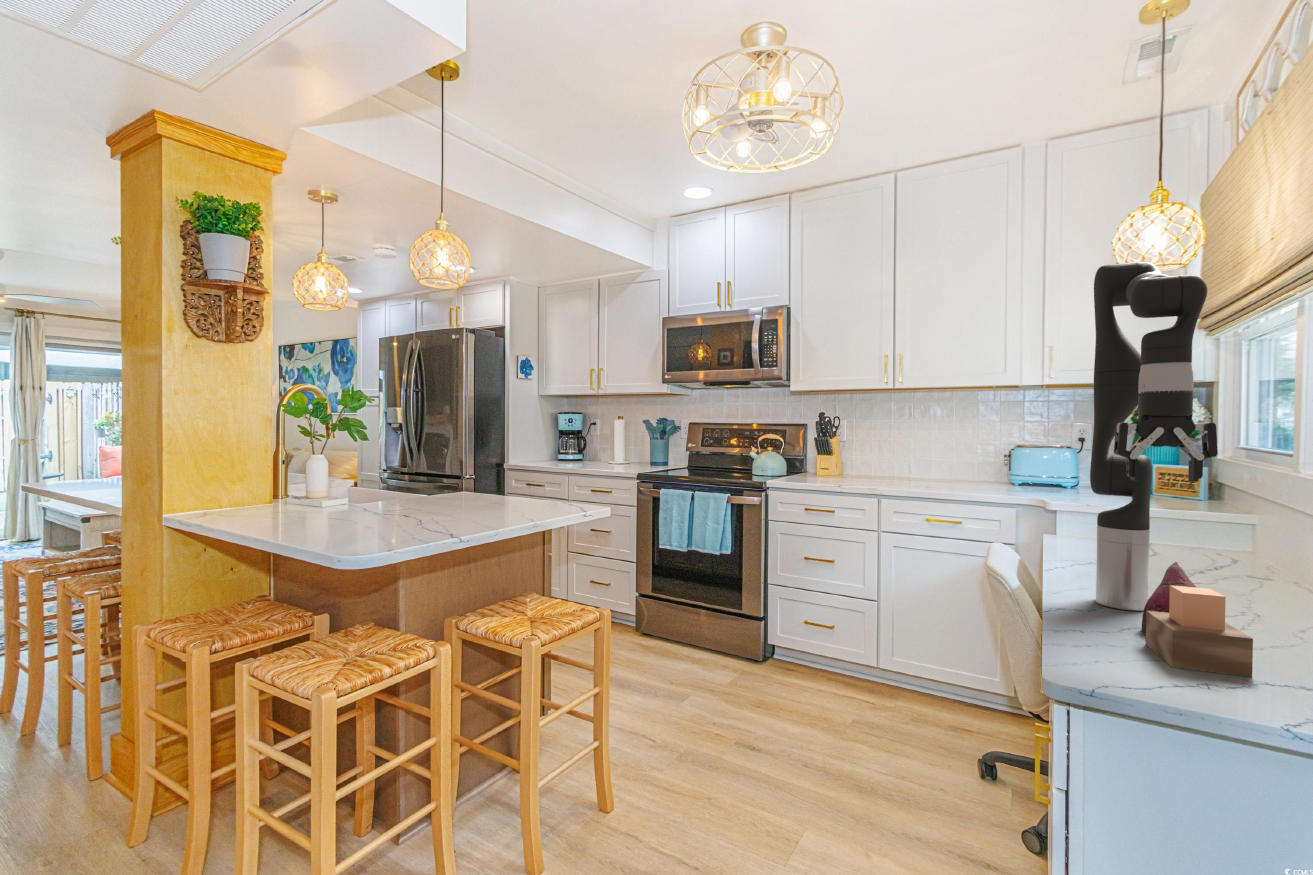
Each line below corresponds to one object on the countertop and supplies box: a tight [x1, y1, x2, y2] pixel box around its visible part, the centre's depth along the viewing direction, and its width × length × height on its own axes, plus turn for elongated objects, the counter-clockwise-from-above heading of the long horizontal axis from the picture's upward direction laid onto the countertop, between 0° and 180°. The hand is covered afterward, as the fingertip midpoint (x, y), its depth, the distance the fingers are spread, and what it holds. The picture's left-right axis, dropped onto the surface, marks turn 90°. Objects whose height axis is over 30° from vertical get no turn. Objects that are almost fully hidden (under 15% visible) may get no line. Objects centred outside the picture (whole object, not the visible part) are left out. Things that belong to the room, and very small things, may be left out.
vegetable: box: [1141, 561, 1198, 634], centre depth 117 cm, size 10×10×15 cm
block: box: [1169, 585, 1226, 631], centre depth 103 cm, size 6×6×6 cm
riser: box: [1145, 611, 1254, 678], centre depth 103 cm, size 12×10×6 cm
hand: (1163, 480), depth 110 cm, fingers open, 8 cm apart
